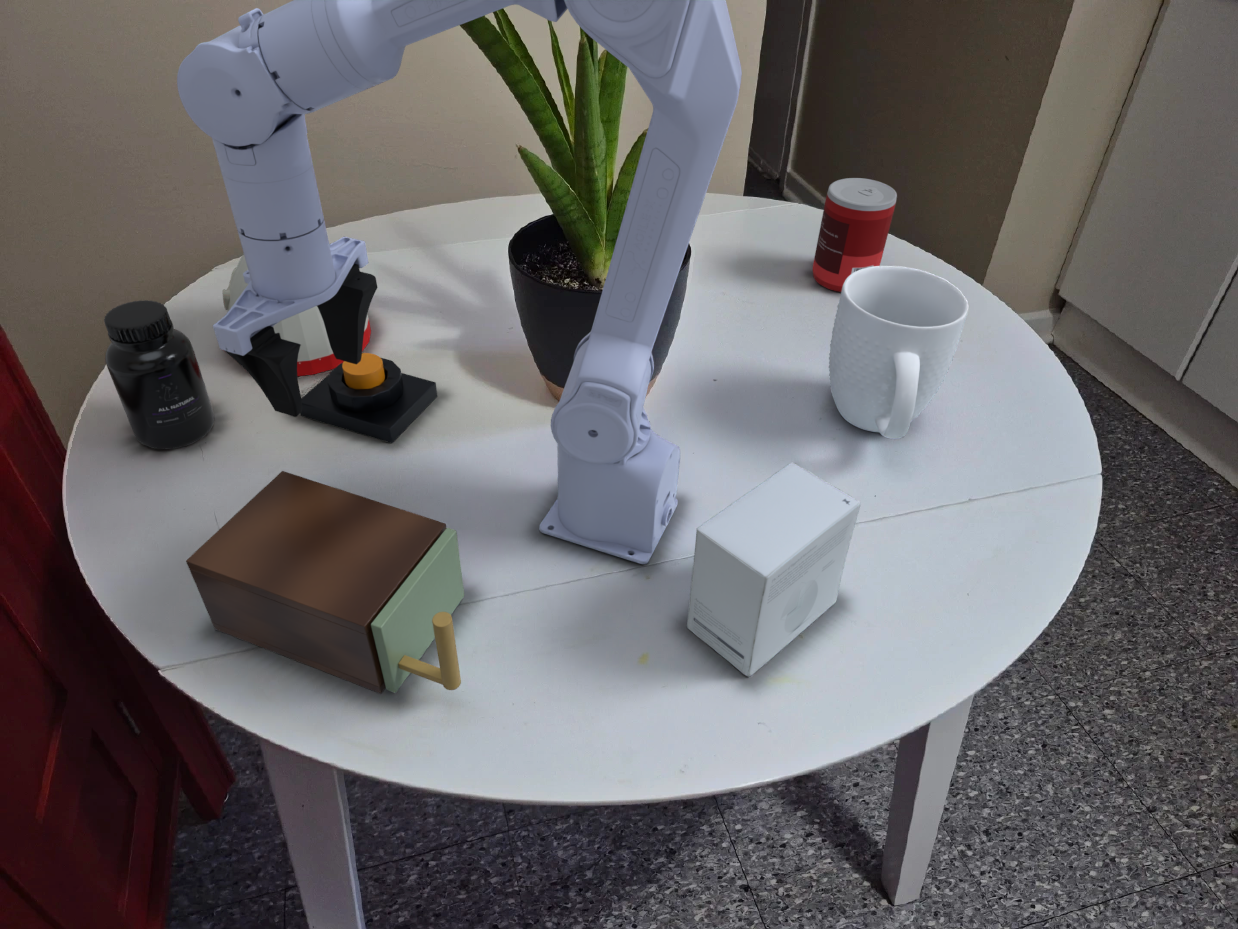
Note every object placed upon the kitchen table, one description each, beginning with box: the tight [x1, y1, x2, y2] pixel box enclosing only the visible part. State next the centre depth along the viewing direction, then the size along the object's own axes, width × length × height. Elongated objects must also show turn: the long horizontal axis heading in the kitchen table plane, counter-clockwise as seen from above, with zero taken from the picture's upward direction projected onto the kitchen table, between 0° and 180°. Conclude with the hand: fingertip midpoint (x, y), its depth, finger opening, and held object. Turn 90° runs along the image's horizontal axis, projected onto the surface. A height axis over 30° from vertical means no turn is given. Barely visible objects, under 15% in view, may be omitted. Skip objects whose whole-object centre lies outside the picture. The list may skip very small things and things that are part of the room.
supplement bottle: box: [103, 299, 215, 450], centre depth 76 cm, size 7×7×12 cm
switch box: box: [299, 356, 438, 444], centre depth 82 cm, size 10×8×4 cm
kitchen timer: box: [221, 253, 372, 377], centre depth 86 cm, size 14×14×15 cm
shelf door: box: [371, 527, 465, 694], centre depth 59 cm, size 5×9×8 cm, turn 158°
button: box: [342, 352, 385, 389], centre depth 80 cm, size 4×4×2 cm
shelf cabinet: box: [185, 470, 448, 695], centre depth 62 cm, size 14×10×7 cm
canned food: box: [812, 177, 898, 293], centre depth 102 cm, size 8×8×11 cm
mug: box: [828, 265, 970, 440], centre depth 79 cm, size 15×11×13 cm
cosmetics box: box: [686, 461, 862, 678], centre depth 62 cm, size 10×6×10 cm, turn 133°
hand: (319, 384), depth 68 cm, fingers open, 7 cm apart
